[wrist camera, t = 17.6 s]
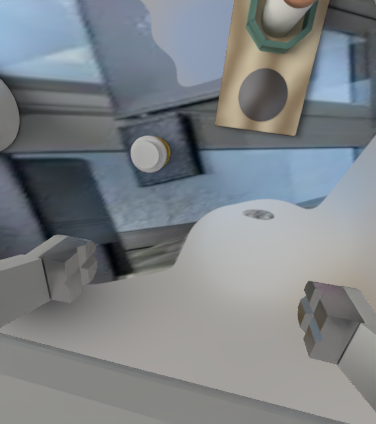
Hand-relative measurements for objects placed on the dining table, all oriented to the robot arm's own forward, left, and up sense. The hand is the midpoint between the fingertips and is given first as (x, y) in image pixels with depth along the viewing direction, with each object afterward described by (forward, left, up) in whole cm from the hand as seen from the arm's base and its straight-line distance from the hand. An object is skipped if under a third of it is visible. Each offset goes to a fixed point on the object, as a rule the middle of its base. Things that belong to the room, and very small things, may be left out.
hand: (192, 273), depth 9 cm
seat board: (+10, +19, -36) cm, 42 cm away
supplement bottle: (-7, +2, -36) cm, 37 cm away
